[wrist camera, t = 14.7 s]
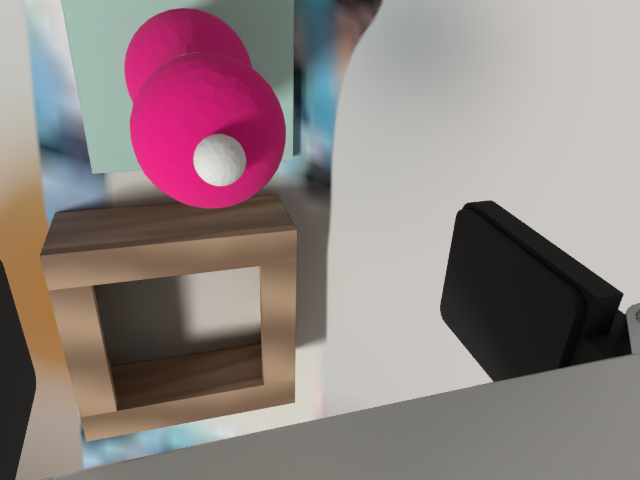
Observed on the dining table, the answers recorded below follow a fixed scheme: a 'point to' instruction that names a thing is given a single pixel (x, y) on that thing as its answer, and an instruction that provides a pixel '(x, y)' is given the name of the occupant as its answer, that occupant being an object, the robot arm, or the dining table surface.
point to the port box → (163, 261)
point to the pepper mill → (201, 110)
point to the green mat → (110, 50)
